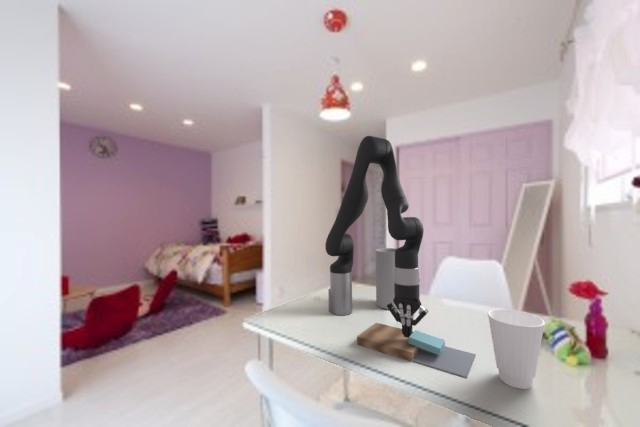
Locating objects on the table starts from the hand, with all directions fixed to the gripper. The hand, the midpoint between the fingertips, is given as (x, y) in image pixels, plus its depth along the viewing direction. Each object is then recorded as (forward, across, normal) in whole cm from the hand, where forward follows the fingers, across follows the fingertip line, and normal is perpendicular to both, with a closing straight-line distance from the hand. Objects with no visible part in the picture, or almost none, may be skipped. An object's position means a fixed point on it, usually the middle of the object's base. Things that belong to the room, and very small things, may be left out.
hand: (407, 336), depth 89 cm
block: (+4, -5, 0) cm, 6 cm away
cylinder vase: (+4, -20, +34) cm, 40 cm away
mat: (+4, +11, 0) cm, 12 cm away
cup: (+4, +28, -1) cm, 28 cm away
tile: (+1, +6, 0) cm, 6 cm away
